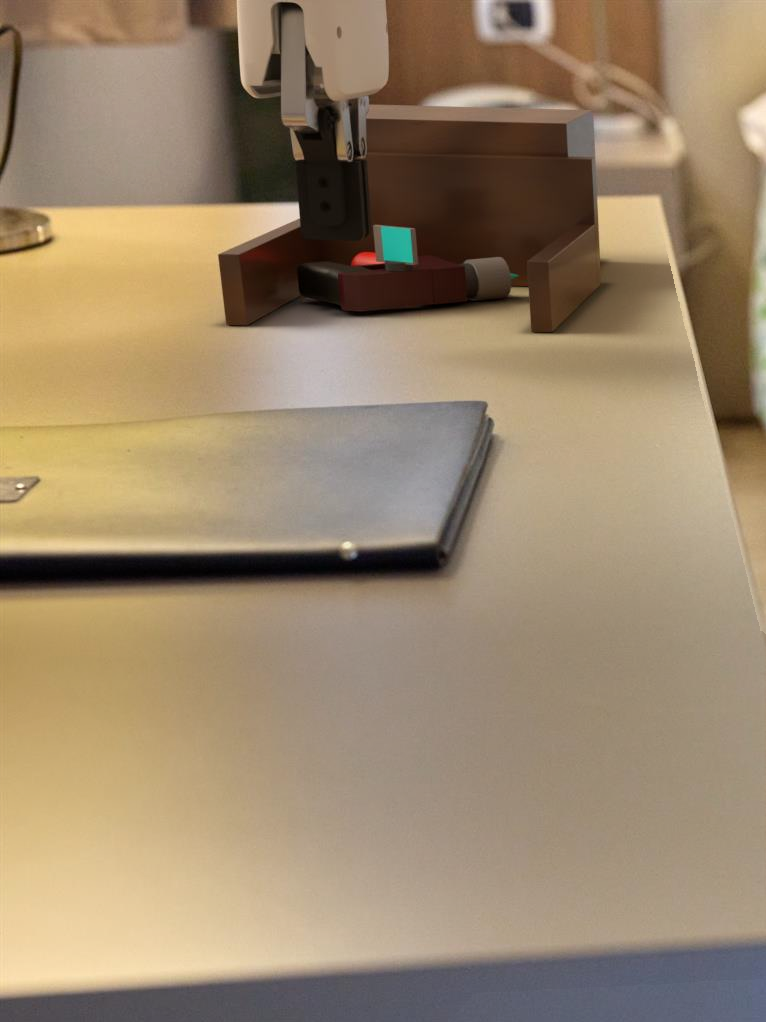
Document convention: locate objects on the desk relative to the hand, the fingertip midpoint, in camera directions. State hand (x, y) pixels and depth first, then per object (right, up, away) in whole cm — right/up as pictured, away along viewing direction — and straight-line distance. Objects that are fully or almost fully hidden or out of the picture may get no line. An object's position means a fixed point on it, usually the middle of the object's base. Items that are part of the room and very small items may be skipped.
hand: (337, 237), depth 102 cm
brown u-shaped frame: (0, +1, +20) cm, 20 cm away
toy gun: (-2, 0, +18) cm, 18 cm away
